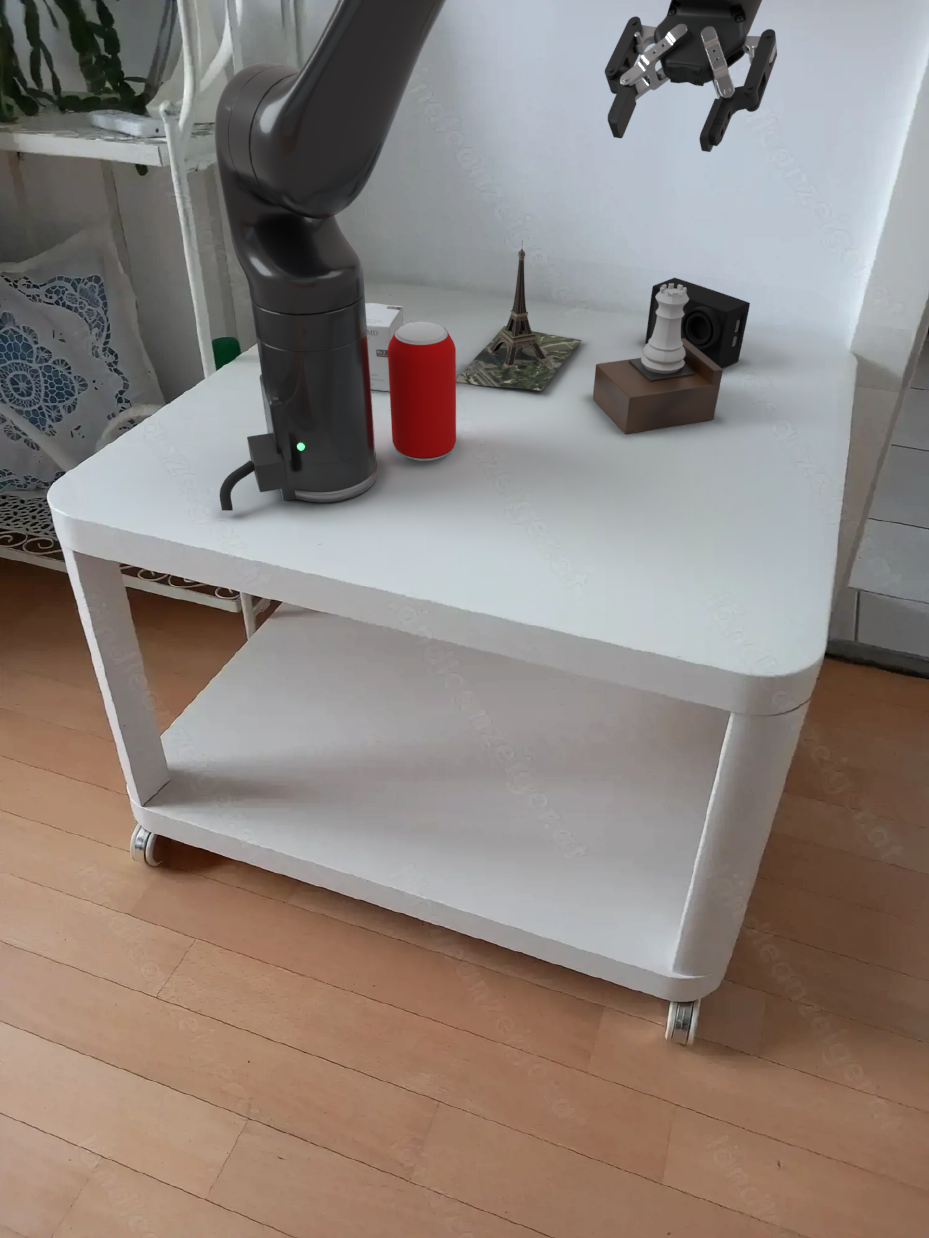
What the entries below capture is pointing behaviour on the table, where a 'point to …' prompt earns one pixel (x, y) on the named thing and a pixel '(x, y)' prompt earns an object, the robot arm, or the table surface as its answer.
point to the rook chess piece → (667, 332)
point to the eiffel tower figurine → (519, 351)
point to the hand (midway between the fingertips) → (659, 139)
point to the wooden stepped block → (658, 392)
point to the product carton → (381, 340)
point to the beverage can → (422, 391)
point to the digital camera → (707, 321)
